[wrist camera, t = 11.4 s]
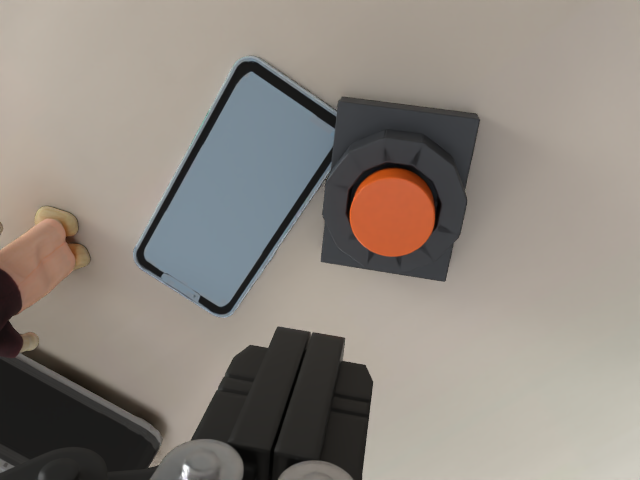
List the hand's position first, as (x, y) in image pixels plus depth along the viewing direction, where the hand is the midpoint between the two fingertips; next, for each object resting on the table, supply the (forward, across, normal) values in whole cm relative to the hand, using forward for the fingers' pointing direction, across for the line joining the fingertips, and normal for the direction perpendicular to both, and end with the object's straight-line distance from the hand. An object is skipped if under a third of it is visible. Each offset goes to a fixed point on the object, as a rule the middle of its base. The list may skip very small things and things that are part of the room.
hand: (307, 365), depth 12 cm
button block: (+19, -2, +2) cm, 19 cm away
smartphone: (+20, +8, +4) cm, 22 cm away
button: (+16, -2, +2) cm, 16 cm away
